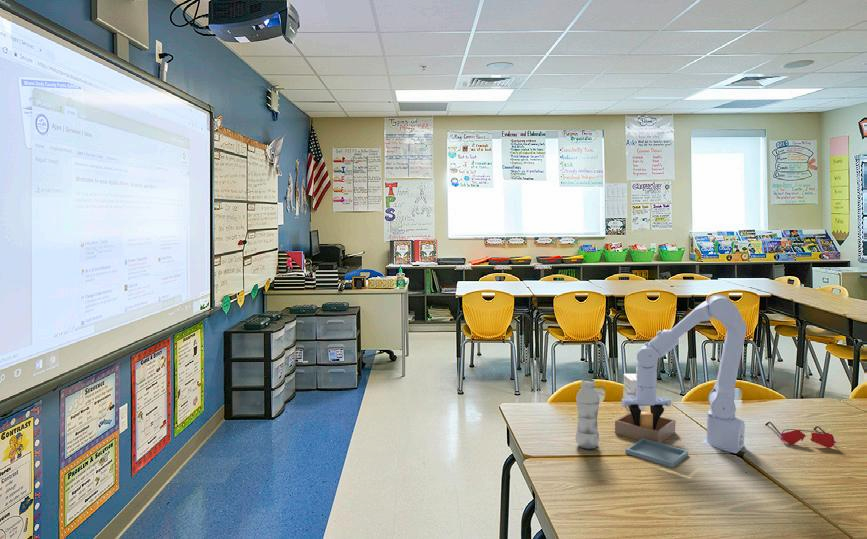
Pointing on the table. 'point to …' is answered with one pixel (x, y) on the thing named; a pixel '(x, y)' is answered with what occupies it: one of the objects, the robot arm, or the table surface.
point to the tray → (657, 452)
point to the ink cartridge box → (630, 387)
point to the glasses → (797, 435)
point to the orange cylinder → (646, 420)
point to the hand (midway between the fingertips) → (645, 428)
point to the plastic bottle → (587, 415)
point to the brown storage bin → (645, 429)
